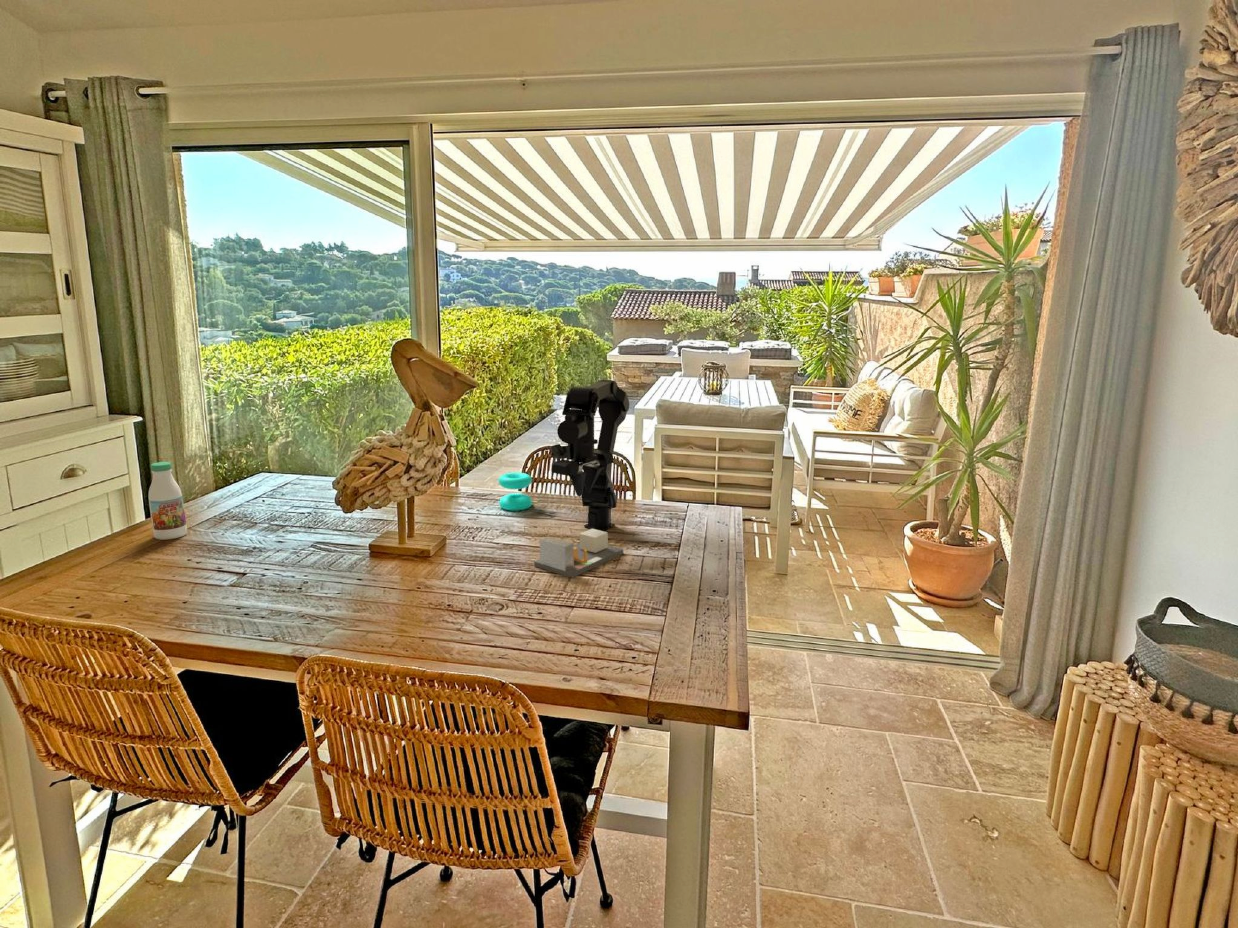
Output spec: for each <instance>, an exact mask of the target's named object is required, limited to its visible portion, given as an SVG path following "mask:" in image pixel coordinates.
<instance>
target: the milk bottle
mask: <svg viewBox="0 0 1238 928" xmlns="http://www.w3.org/2000/svg"><path fill="white" fill-rule="evenodd" d="M150 470H151V473H152V481H151V483H150V485H149V489H148V497H147V498H148V507H149V512H150V519H151V525H152V526H151V527H152V532H153V537H154V538H155V539H156V540H174V539H178V538H181V537H184V536H186V535H187V533H188V528H187V527H188V526H187V518H186V511H185V504H184V499H183V495H182V494H183V493H182V489H181V488H180V485H179V484H178V483H177V481H176V480H175V478H174V476H173V474H172V471H173V470H172V463H171V462H169V461H160V462H154V463H151V464H150Z"/></svg>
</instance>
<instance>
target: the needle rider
mask: <svg viewBox="0 0 1238 928" xmlns="http://www.w3.org/2000/svg"><path fill="white" fill-rule="evenodd" d="M583 551H584V560H583V559H580V558H578V548H576V547H574V561H578V562H582V563H585V564H586V563H587V550H586V549H585V550H583Z"/></svg>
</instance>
